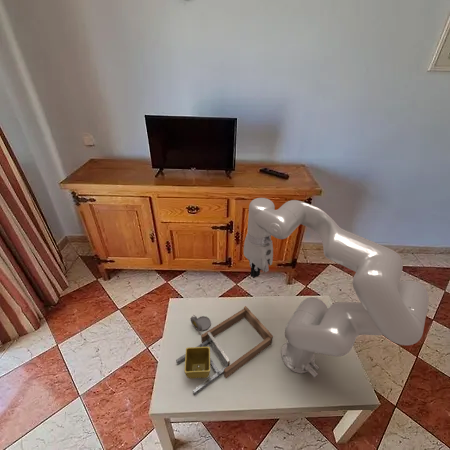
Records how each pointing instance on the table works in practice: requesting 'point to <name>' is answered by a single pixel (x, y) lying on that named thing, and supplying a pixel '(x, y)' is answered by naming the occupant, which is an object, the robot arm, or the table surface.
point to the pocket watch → (201, 322)
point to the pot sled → (220, 355)
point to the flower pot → (197, 362)
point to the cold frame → (254, 351)
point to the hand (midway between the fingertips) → (255, 275)
